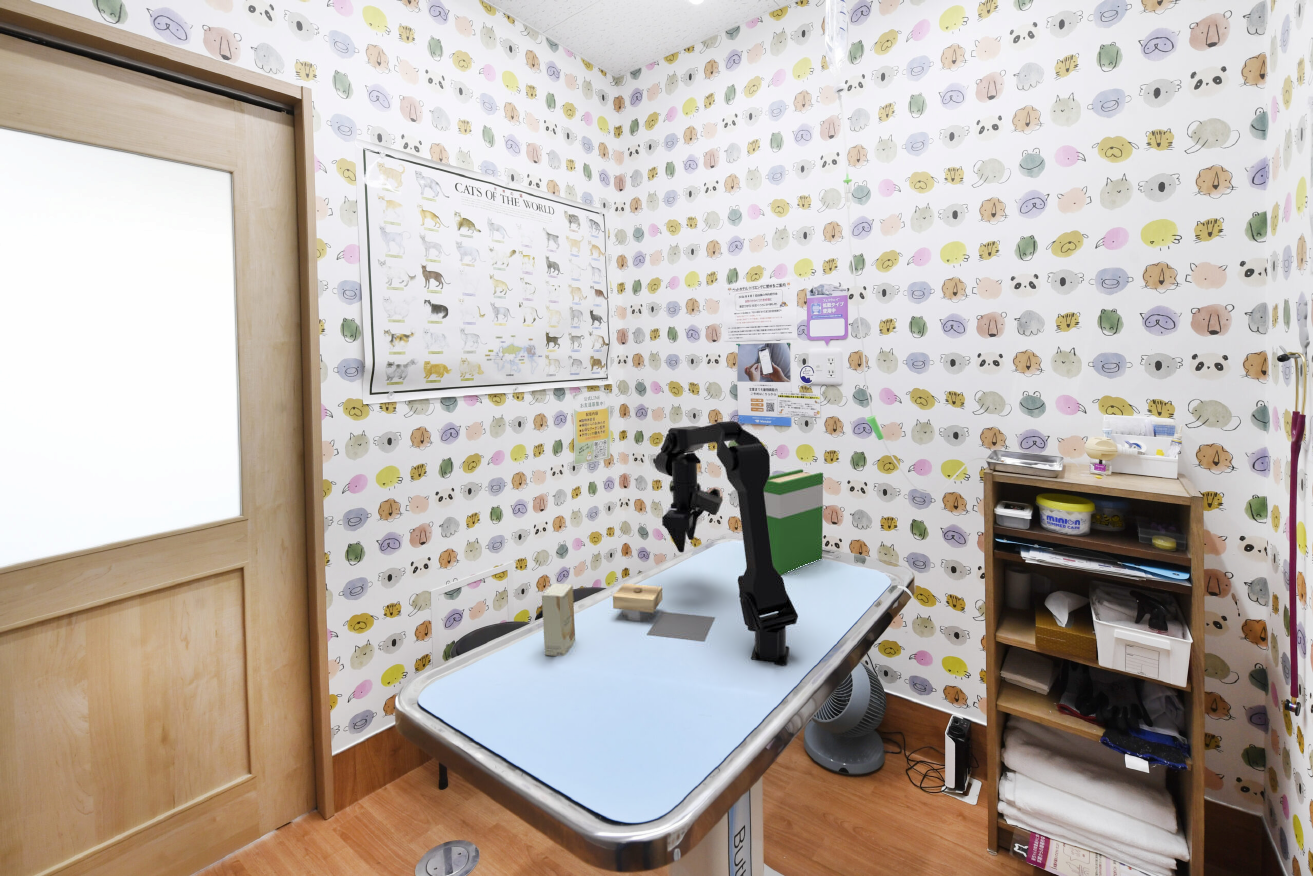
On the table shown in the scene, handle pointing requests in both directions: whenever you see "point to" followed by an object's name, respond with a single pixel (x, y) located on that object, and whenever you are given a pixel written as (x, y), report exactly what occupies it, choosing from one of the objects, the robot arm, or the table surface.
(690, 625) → the mat
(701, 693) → the table surface
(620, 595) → the lid
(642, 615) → the bowl
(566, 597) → the skincare box
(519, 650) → the table surface
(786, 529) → the hardback book
